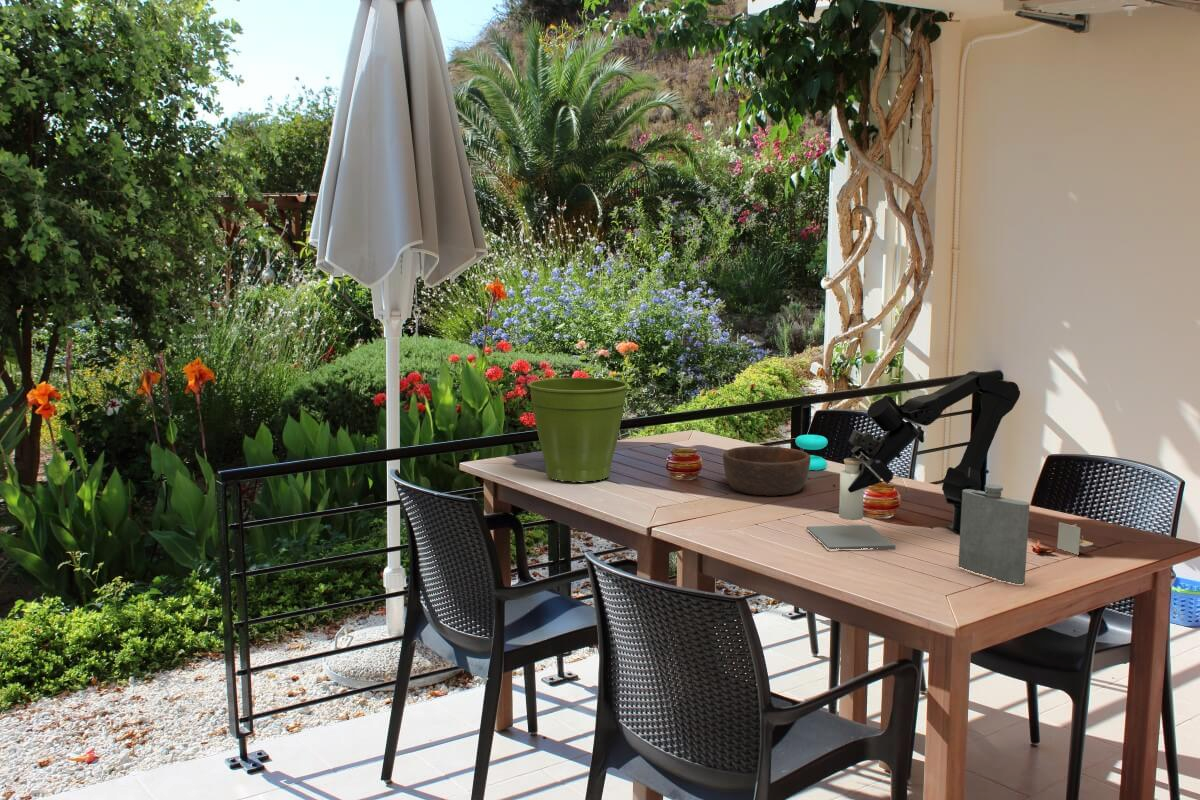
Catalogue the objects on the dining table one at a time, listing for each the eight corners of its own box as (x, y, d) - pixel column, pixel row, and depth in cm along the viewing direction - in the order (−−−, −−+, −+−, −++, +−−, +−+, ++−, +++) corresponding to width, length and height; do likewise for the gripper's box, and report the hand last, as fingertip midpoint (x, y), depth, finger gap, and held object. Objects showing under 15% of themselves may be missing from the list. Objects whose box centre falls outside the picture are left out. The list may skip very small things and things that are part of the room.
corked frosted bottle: (866, 519, 257) (867, 462, 255) (843, 520, 257) (844, 462, 254) (858, 513, 263) (860, 457, 260) (835, 514, 262) (837, 457, 260)
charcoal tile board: (895, 549, 252) (895, 545, 252) (828, 551, 251) (828, 547, 251) (869, 528, 270) (869, 524, 270) (806, 530, 268) (806, 526, 268)
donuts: (834, 437, 339) (815, 441, 332) (833, 468, 340) (813, 472, 333) (808, 432, 346) (788, 436, 339) (807, 463, 347) (788, 467, 341)
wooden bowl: (713, 495, 305) (714, 459, 304) (732, 476, 329) (732, 443, 327) (802, 502, 297) (803, 465, 296) (815, 482, 321) (816, 448, 319)
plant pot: (601, 492, 308) (601, 393, 303) (511, 482, 321) (510, 386, 316) (643, 472, 334) (643, 380, 330) (558, 463, 347) (557, 374, 343)
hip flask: (1027, 584, 228) (1033, 491, 224) (1015, 587, 225) (1021, 494, 222) (964, 565, 241) (969, 477, 237) (952, 568, 238) (957, 479, 235)
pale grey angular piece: (1065, 551, 253) (1067, 520, 252) (1092, 558, 247) (1094, 527, 246) (1056, 553, 251) (1058, 522, 250) (1082, 560, 245) (1084, 529, 244)
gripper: (860, 412, 265) (814, 457, 267) (880, 426, 247) (831, 473, 248) (891, 443, 266) (845, 487, 268) (914, 459, 248) (864, 506, 250)
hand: (846, 488), depth 258 cm, fingers closed on corked frosted bottle, 6 cm apart
